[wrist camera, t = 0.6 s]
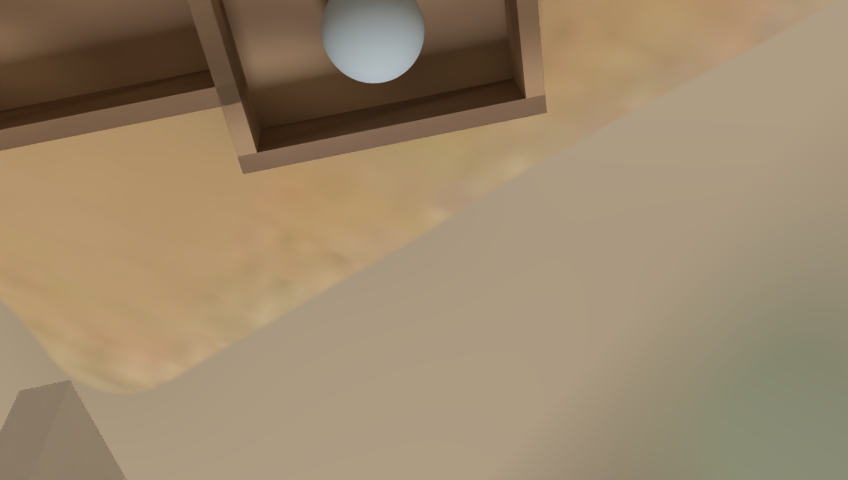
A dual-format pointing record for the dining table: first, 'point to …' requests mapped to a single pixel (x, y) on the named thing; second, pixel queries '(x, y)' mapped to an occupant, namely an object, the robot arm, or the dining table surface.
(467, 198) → the dining table surface
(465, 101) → the cradle
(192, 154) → the dining table surface
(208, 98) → the cradle
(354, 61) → the ball
